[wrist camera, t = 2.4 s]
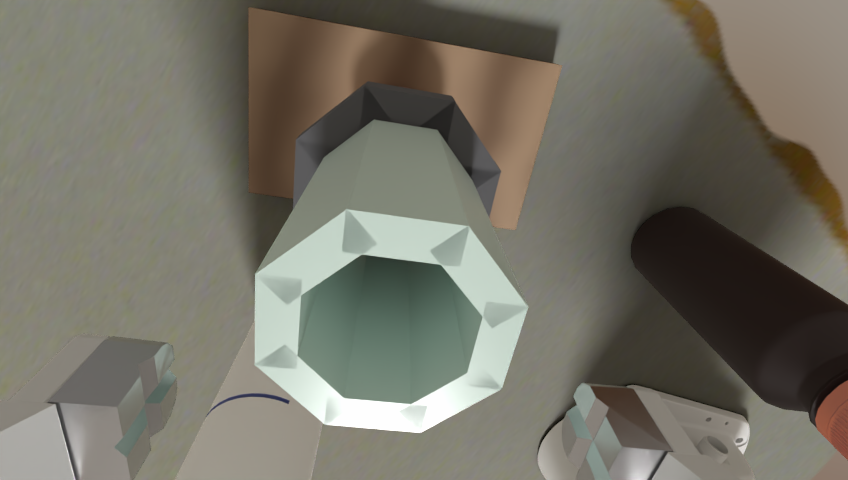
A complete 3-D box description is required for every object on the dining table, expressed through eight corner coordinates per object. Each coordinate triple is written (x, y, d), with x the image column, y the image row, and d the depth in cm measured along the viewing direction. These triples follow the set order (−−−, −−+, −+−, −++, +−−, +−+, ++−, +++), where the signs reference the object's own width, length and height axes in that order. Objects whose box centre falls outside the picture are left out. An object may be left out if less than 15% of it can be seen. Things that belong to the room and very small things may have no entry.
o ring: (508, 105, 19) (516, 111, 18) (466, 275, 23) (470, 291, 21) (306, 70, 18) (298, 73, 17) (296, 254, 22) (289, 269, 20)
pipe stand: (552, 63, 31) (684, 97, 16) (509, 219, 36) (580, 349, 22) (258, 8, 29) (111, -8, 14) (256, 183, 34) (148, 302, 19)
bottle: (622, 278, 39) (810, 497, 21) (636, 207, 36) (869, 389, 18) (698, 274, 39) (950, 488, 21) (718, 203, 36) (1030, 380, 18)
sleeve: (481, 136, 18) (551, 237, 10) (451, 268, 21) (485, 438, 12) (327, 111, 17) (255, 196, 9) (317, 250, 20) (254, 418, 12)
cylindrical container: (271, 272, 37) (71, 652, 15) (353, 297, 39) (283, 678, 16) (253, 337, 40) (60, 738, 18) (329, 358, 41) (242, 754, 19)
